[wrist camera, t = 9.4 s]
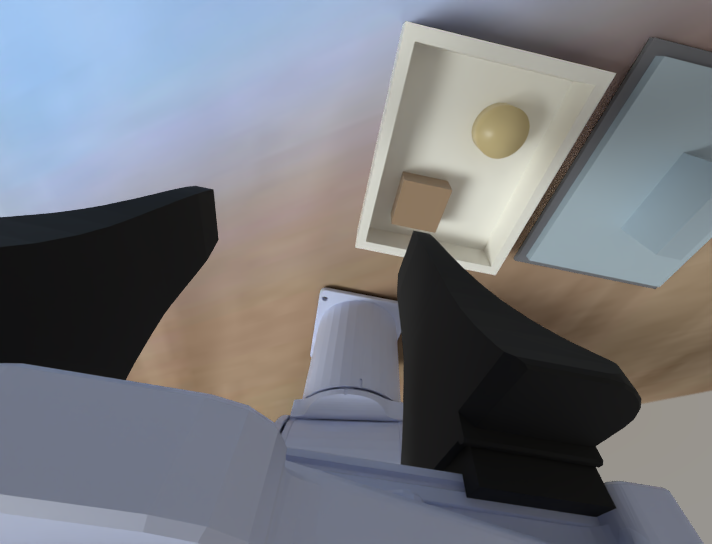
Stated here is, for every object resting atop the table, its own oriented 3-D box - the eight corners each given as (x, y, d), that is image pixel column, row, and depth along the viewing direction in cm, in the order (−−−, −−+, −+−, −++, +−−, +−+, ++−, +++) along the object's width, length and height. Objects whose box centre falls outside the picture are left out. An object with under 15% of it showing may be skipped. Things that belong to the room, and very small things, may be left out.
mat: (652, 286, 24) (655, 288, 23) (513, 258, 23) (515, 260, 23) (854, 90, 16) (862, 90, 15) (650, 37, 15) (654, 37, 15)
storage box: (485, 254, 23) (495, 275, 21) (357, 229, 22) (355, 247, 20) (585, 70, 16) (616, 73, 14) (402, 25, 15) (405, 21, 13)
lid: (653, 282, 23) (695, 317, 20) (526, 255, 22) (548, 288, 19) (837, 102, 16) (946, 115, 13) (655, 55, 15) (725, 57, 12)
